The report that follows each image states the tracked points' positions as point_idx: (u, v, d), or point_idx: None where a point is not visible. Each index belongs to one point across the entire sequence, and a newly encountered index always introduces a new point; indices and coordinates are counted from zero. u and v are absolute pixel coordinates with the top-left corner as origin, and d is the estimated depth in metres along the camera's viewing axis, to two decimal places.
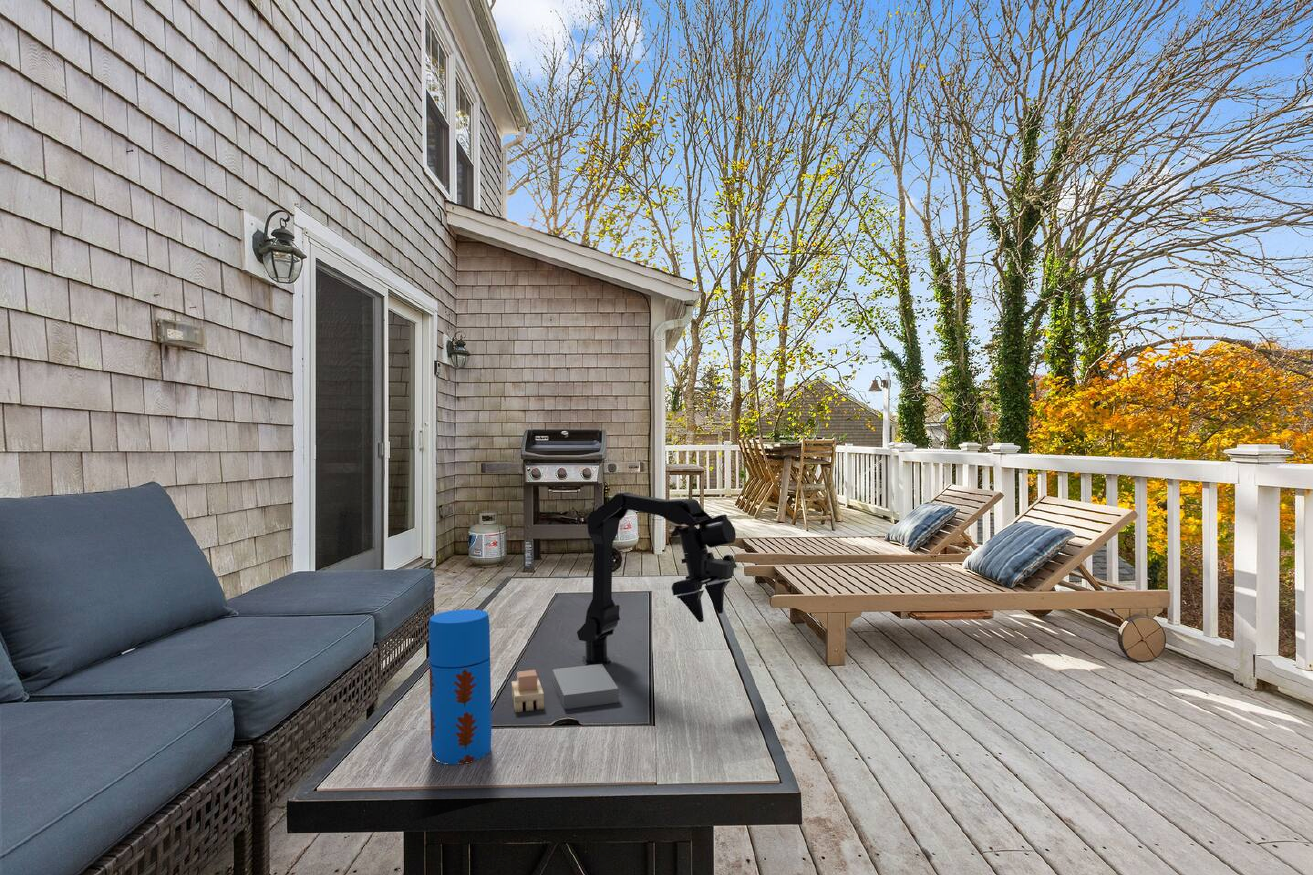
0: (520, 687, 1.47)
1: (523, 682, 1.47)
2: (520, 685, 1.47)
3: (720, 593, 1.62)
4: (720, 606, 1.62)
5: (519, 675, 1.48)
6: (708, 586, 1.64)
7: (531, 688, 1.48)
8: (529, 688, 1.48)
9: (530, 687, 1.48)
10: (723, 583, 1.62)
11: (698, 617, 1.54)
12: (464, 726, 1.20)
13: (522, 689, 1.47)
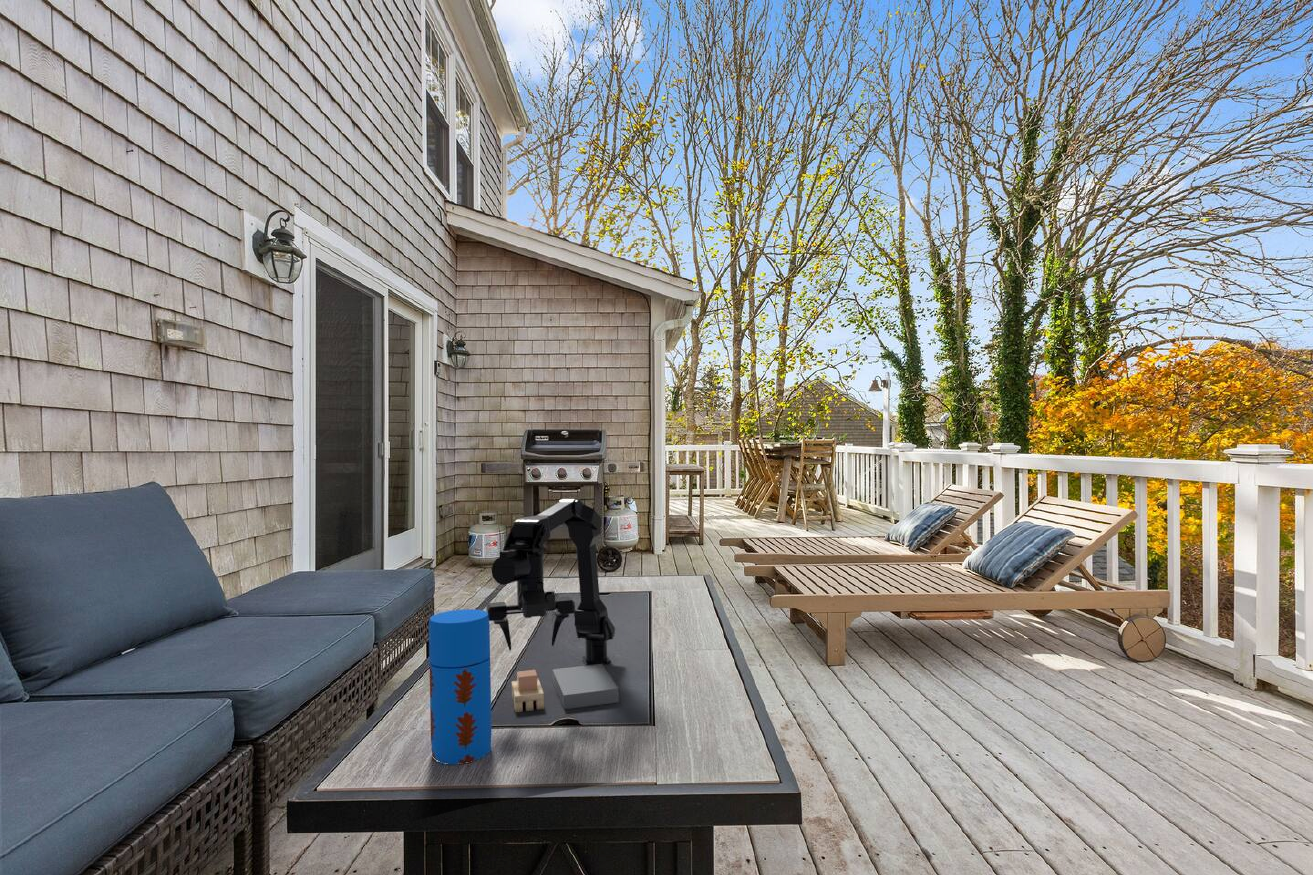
0: (520, 687, 1.47)
1: (523, 682, 1.47)
2: (520, 685, 1.47)
3: (553, 625, 1.49)
4: (551, 638, 1.50)
5: (519, 675, 1.48)
6: (552, 613, 1.52)
7: (531, 688, 1.48)
8: (529, 688, 1.48)
9: (530, 687, 1.48)
10: (556, 617, 1.48)
11: (507, 644, 1.48)
12: (464, 726, 1.20)
13: (522, 689, 1.47)
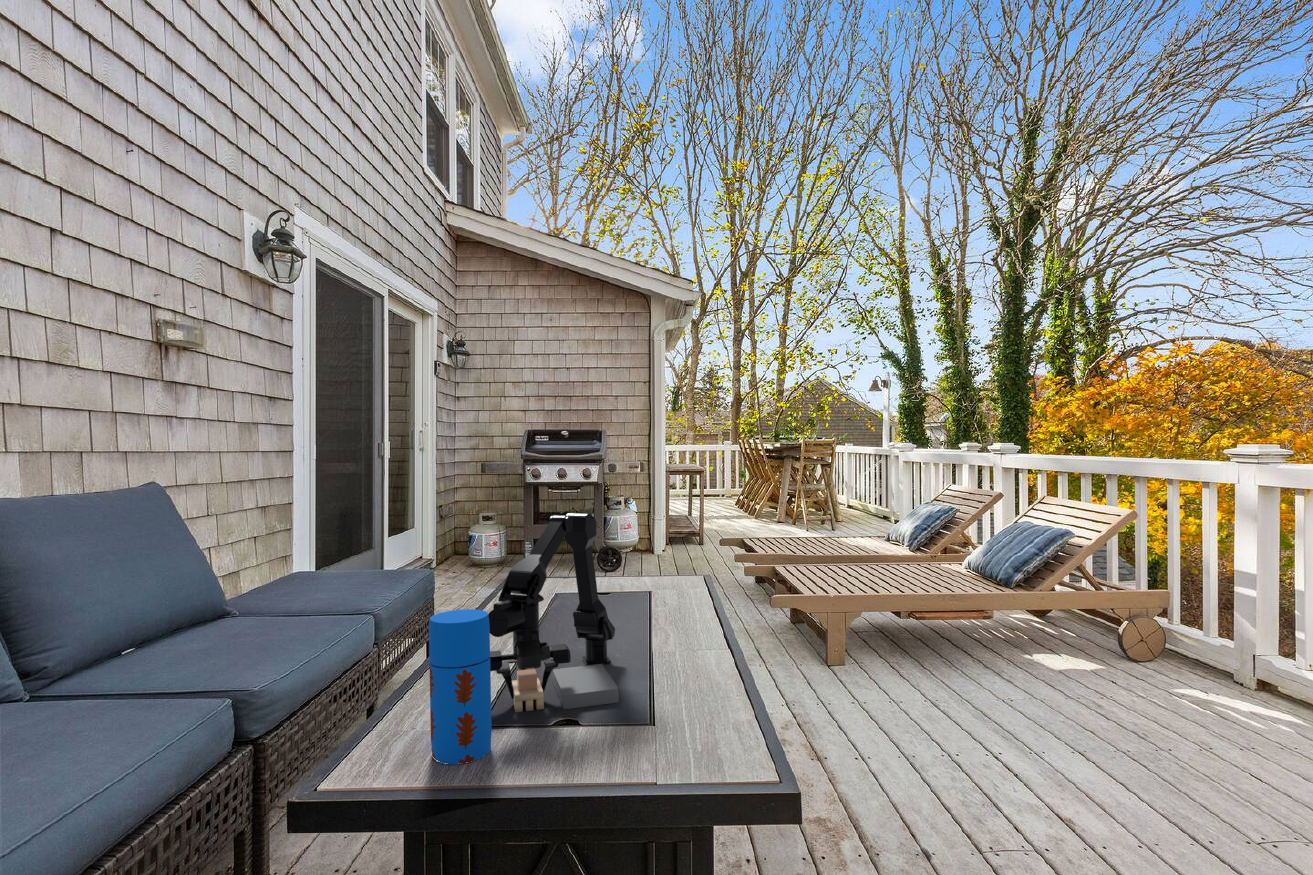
0: (520, 686, 1.47)
1: (523, 681, 1.47)
2: (520, 684, 1.47)
3: (543, 675, 1.49)
4: None
5: (519, 674, 1.48)
6: (542, 661, 1.52)
7: (531, 687, 1.48)
8: (529, 687, 1.48)
9: (530, 686, 1.48)
10: (545, 667, 1.48)
11: None
12: (464, 726, 1.20)
13: (522, 688, 1.47)
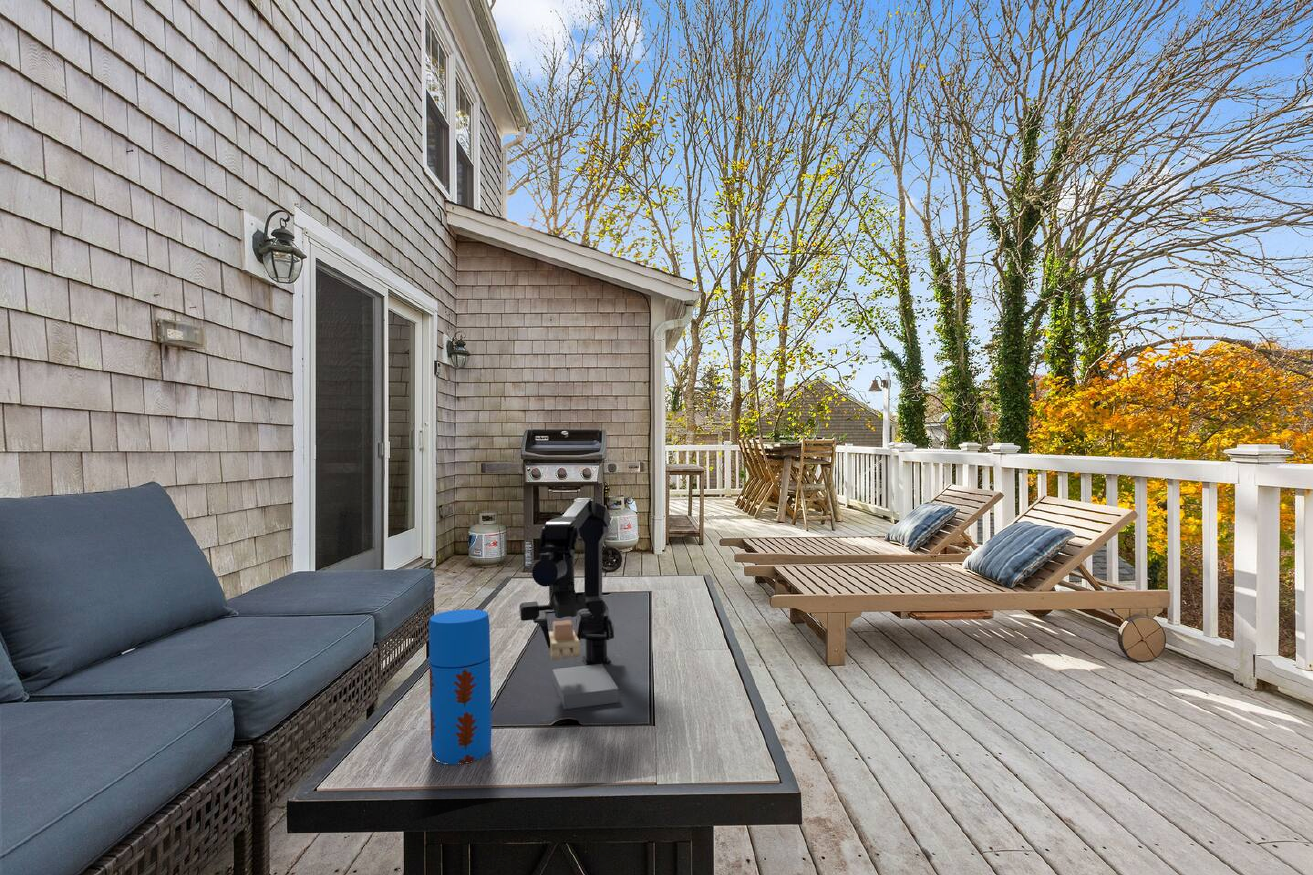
0: (556, 636, 1.50)
1: (559, 631, 1.50)
2: (556, 634, 1.50)
3: (578, 625, 1.53)
4: None
5: (555, 624, 1.51)
6: (577, 613, 1.55)
7: (567, 637, 1.51)
8: (565, 637, 1.51)
9: (566, 636, 1.51)
10: (580, 617, 1.51)
11: (546, 642, 1.52)
12: (464, 726, 1.20)
13: (558, 638, 1.50)
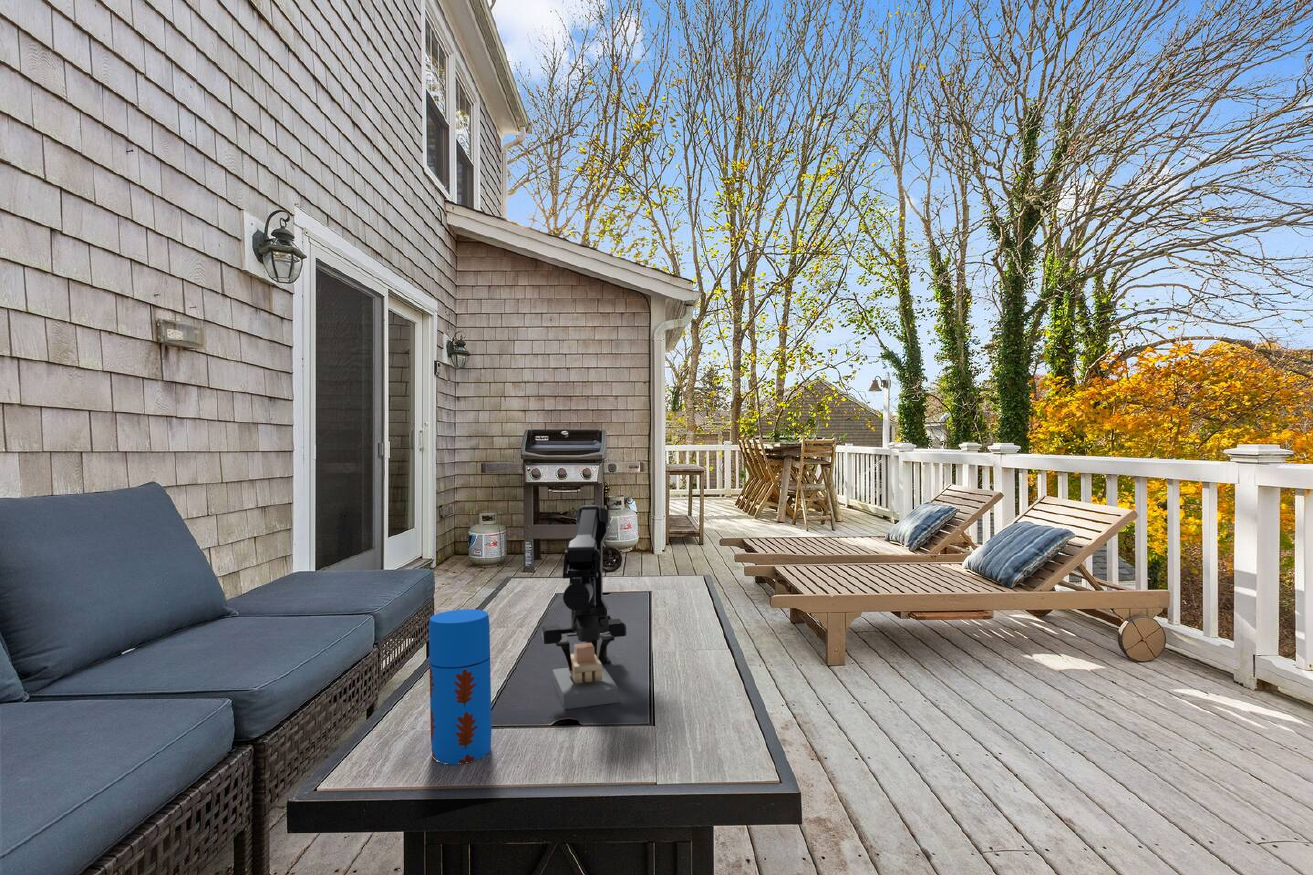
0: (578, 659, 1.52)
1: (581, 654, 1.52)
2: (578, 657, 1.52)
3: (599, 648, 1.54)
4: None
5: (577, 647, 1.53)
6: None
7: (589, 660, 1.52)
8: (587, 660, 1.52)
9: (588, 659, 1.52)
10: (602, 640, 1.53)
11: (568, 665, 1.53)
12: (464, 726, 1.20)
13: (580, 661, 1.52)
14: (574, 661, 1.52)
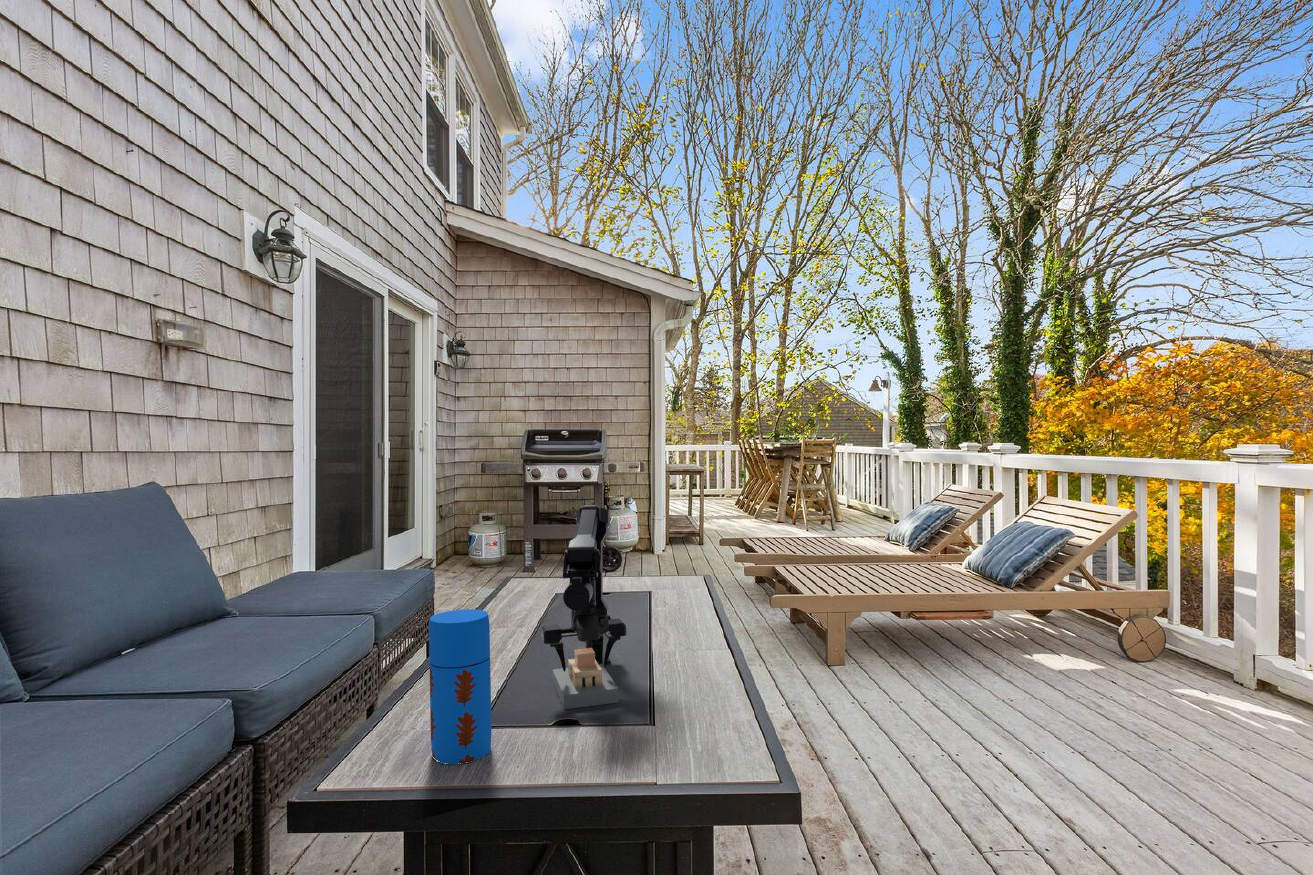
0: (579, 664, 1.52)
1: (582, 659, 1.52)
2: (579, 662, 1.52)
3: (605, 647, 1.54)
4: (603, 660, 1.55)
5: (577, 653, 1.53)
6: (604, 635, 1.57)
7: (589, 665, 1.52)
8: (587, 665, 1.52)
9: (588, 664, 1.52)
10: (608, 639, 1.53)
11: None
12: (464, 726, 1.20)
13: (581, 666, 1.52)
14: (574, 666, 1.52)
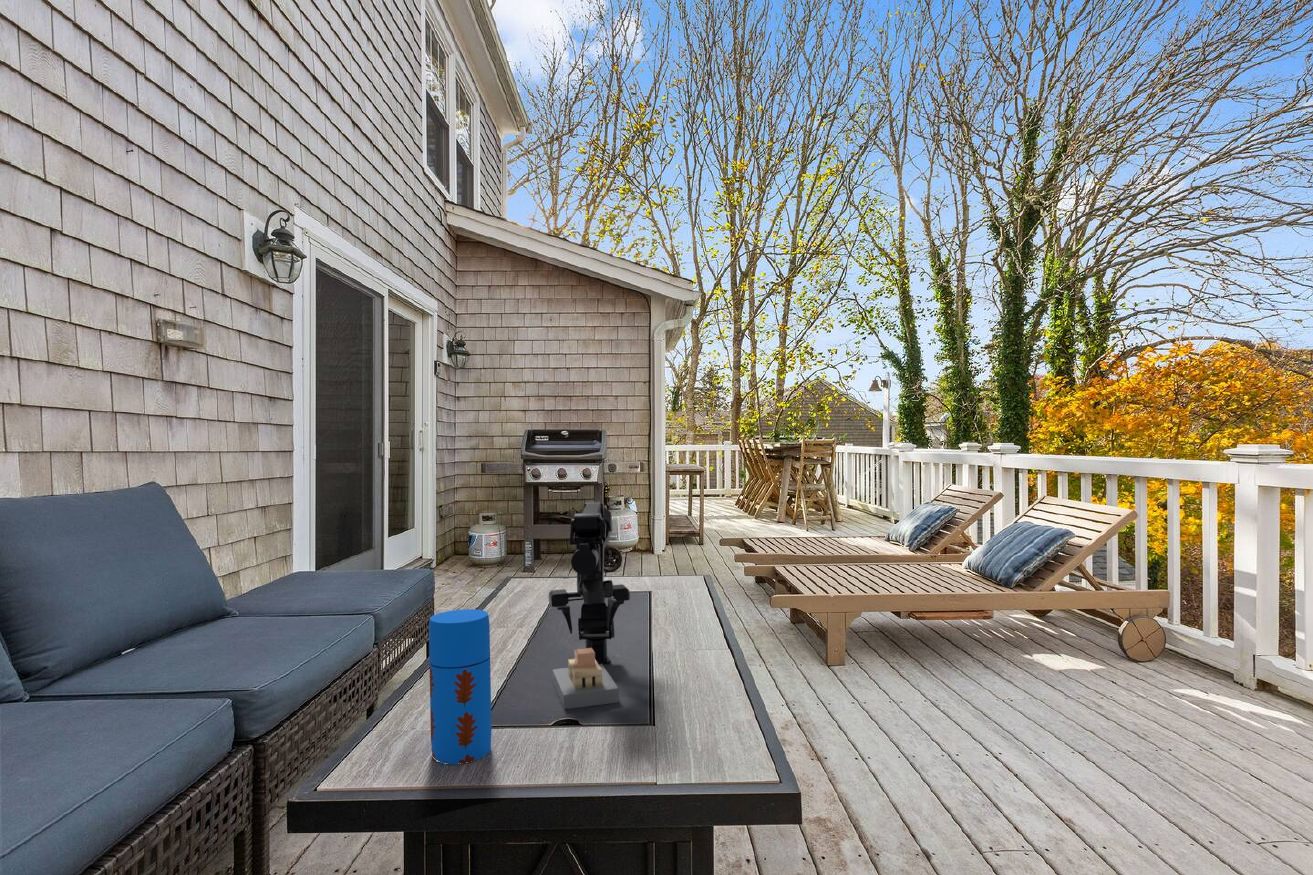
0: (579, 664, 1.52)
1: (582, 659, 1.52)
2: (579, 662, 1.52)
3: (610, 611, 1.63)
4: (608, 623, 1.63)
5: (577, 653, 1.53)
6: (608, 599, 1.66)
7: (589, 665, 1.52)
8: (587, 665, 1.52)
9: (588, 664, 1.52)
10: (612, 603, 1.61)
11: (568, 628, 1.61)
12: (464, 726, 1.20)
13: (581, 666, 1.52)
14: (574, 666, 1.52)
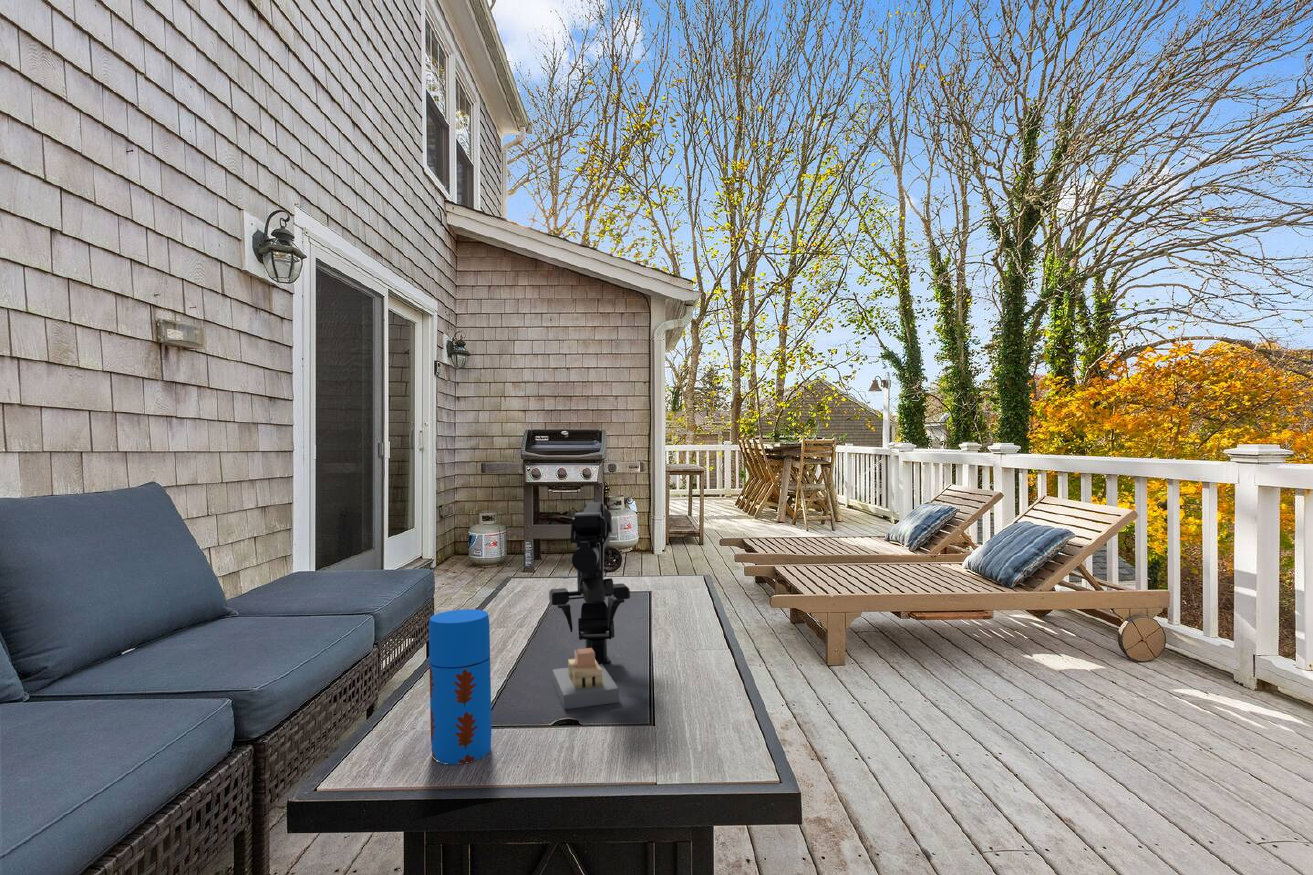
0: (579, 664, 1.52)
1: (582, 659, 1.52)
2: (579, 662, 1.52)
3: (610, 610, 1.63)
4: (608, 622, 1.63)
5: (577, 653, 1.53)
6: (608, 598, 1.66)
7: (589, 665, 1.52)
8: (587, 665, 1.52)
9: (588, 664, 1.52)
10: (612, 602, 1.62)
11: None
12: (464, 726, 1.20)
13: (581, 666, 1.52)
14: (574, 666, 1.52)
